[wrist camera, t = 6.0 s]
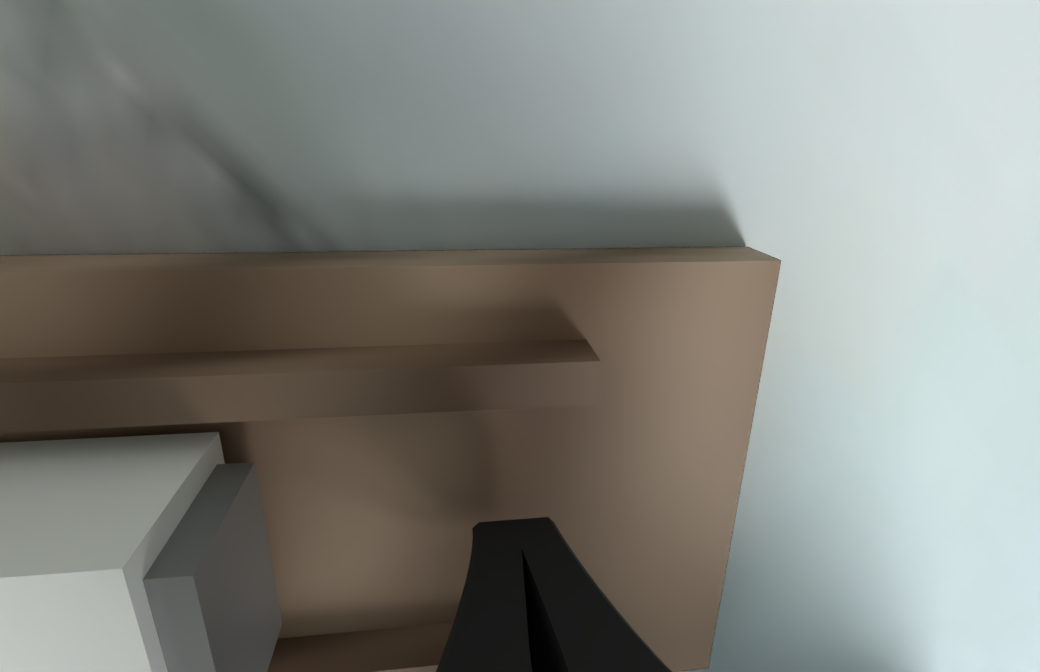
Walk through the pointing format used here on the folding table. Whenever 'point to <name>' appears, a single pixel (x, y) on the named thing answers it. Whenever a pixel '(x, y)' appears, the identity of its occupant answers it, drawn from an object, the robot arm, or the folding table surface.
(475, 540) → the robot arm
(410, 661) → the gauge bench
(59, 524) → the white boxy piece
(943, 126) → the folding table surface
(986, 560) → the folding table surface
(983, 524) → the folding table surface
